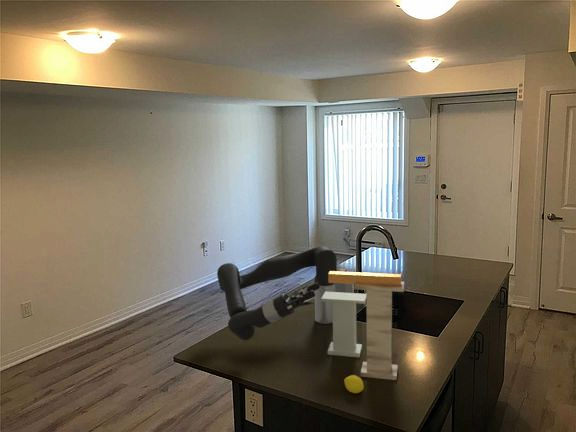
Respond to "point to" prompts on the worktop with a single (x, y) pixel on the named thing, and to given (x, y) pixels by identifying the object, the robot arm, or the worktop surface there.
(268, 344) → the worktop surface
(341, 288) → the perfume bottle
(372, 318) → the tall pedestal
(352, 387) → the lemon
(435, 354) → the worktop surface
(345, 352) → the white i-beam column
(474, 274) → the worktop surface
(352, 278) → the wooden block
